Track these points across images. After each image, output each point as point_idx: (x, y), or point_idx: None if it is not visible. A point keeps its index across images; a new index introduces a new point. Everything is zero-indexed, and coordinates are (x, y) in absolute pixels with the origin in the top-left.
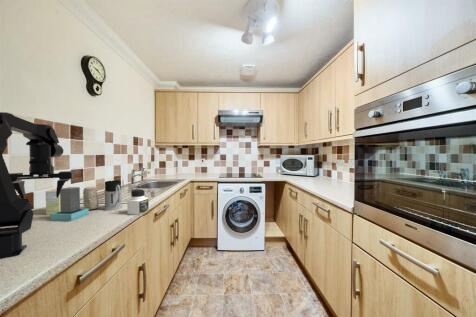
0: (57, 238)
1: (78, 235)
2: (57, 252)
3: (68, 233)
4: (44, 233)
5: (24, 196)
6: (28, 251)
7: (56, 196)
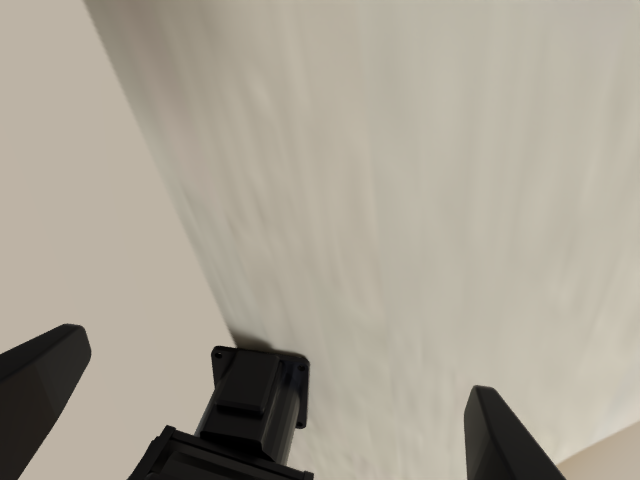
0: (426, 333)
1: (528, 356)
2: (426, 474)
3: (485, 287)
4: (351, 189)
5: (48, 403)
6: (328, 407)
7: (465, 442)
